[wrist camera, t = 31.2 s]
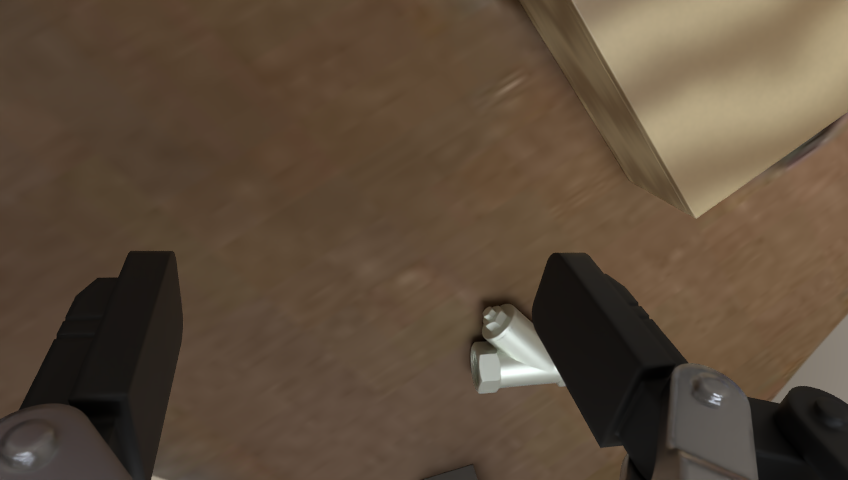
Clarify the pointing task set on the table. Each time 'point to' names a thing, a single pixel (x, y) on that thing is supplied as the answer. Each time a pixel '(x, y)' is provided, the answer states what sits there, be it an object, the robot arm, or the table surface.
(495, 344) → the pipe fitting
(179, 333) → the robot arm
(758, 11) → the cabinet
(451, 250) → the table surface
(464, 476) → the dice cube
